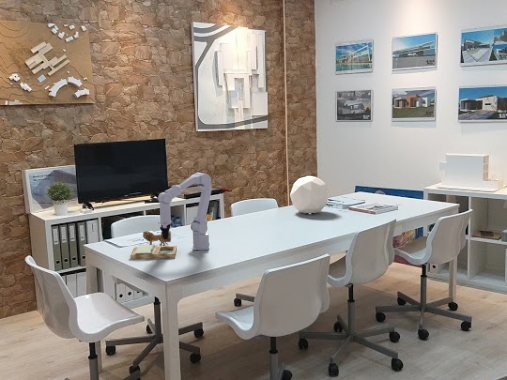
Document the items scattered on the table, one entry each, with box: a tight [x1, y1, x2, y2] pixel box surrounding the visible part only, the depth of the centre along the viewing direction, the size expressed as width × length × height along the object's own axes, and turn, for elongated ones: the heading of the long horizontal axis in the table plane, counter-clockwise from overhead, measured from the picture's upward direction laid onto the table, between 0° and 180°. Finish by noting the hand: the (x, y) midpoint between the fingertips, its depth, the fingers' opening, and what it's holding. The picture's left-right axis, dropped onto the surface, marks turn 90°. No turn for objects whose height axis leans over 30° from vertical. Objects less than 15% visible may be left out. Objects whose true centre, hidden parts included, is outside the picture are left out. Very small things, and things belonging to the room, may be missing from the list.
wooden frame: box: [129, 245, 178, 260], centre depth 314 cm, size 24×17×3 cm
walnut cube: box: [160, 230, 172, 243], centre depth 313 cm, size 5×5×5 cm
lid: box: [135, 243, 156, 254], centre depth 314 cm, size 9×16×2 cm, turn 5°
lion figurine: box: [142, 230, 169, 246], centre depth 334 cm, size 15×5×9 cm, turn 94°
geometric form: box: [289, 175, 330, 214], centre depth 426 cm, size 28×30×30 cm
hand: (166, 238), depth 314 cm, fingers closed on walnut cube, 5 cm apart
